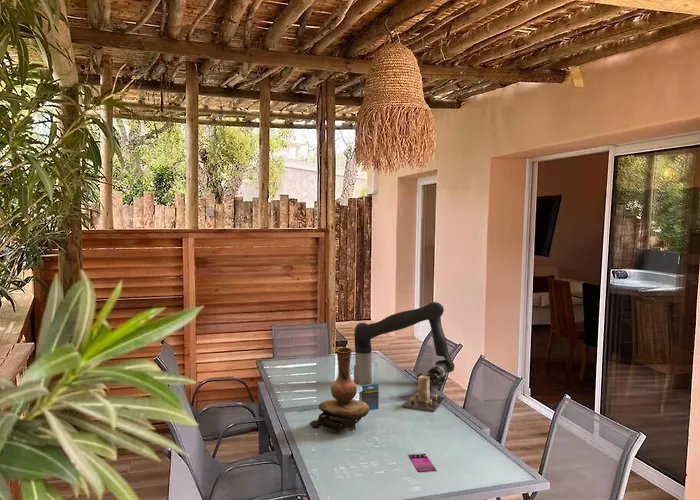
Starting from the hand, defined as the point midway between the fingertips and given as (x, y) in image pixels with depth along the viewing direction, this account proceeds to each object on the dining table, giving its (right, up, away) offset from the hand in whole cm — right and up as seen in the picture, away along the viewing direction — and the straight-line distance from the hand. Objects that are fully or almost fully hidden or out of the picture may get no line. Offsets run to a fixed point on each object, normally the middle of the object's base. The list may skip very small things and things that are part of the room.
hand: (427, 381), depth 277 cm
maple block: (-3, -8, -5) cm, 10 cm away
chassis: (-3, -10, -5) cm, 11 cm away
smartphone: (-13, -13, -73) cm, 75 cm away
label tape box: (-30, -10, -13) cm, 34 cm away
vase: (-44, -12, -36) cm, 58 cm away
